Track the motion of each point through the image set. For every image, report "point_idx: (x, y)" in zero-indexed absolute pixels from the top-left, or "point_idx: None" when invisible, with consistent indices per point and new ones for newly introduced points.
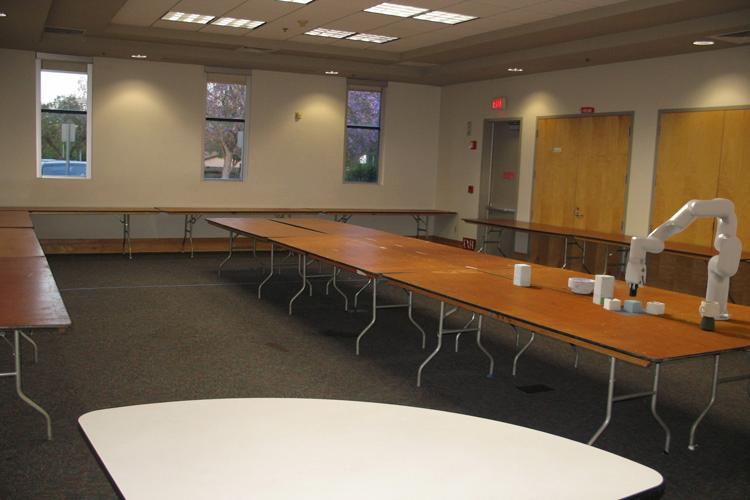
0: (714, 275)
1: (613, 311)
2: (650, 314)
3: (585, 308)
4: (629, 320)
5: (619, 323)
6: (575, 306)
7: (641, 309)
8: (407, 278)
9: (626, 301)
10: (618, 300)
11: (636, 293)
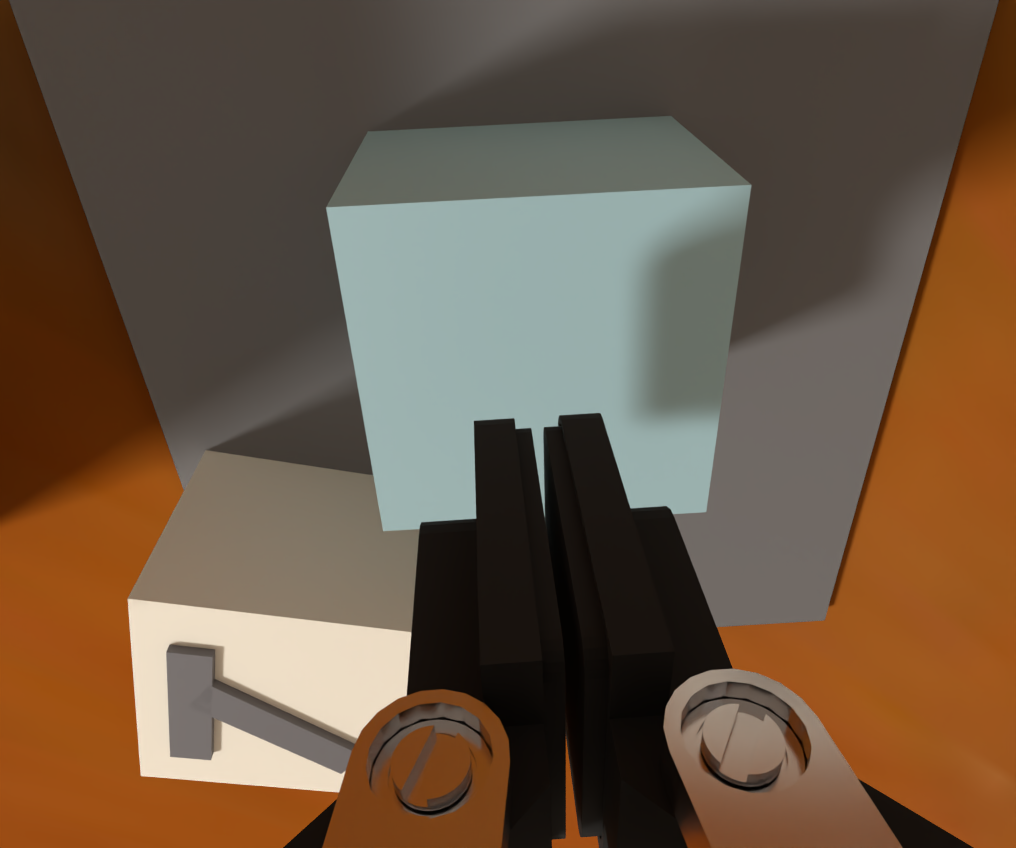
0: None
1: None
2: (959, 70)
3: (222, 793)
4: (984, 680)
5: (1007, 823)
6: (100, 834)
7: (685, 134)
8: None
9: (459, 517)
10: (379, 656)
11: (617, 486)
